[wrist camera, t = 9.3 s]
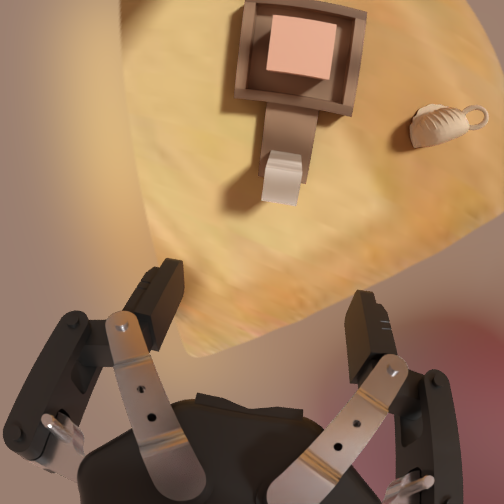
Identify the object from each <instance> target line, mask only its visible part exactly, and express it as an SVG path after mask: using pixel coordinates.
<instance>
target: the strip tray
mask: <svg viewBox="0 0 504 504" xmlns="http://www.w3.org/2000/svg"><path fill="white" fill-rule="evenodd" d="M273 15H280V16H289V17H296V18H303V19H309V20H315V21H321V22H326V23H331V24H336V25H337V27H336V35H335V43H334V50H333V57H332V64H331V71H330V78H329V80H321V79H315V78H310V77H304V76H298V75H291V74H284V73H277V72H270V71H268V70H266V68H267V60H268V52H269V44H270V36H271V28H272V20H273ZM366 18H367V12H365V11H361V10H357V9H354V8H349V7H345V6H341V5H336V4H332V3H327V2H321V1H316V0H245V4H244V12H243V20H242V28H241V36H240V45H239V54H238V63H237V72H236V82H235V91H234V98H237V99H248V100H257V101H266V102H267V106H266V114H265V123H264V131H263V139H262V147H261V156H260V164H259V172H258V176H260V177H264V184H263V191H262V199H261V201H268V202H274V203H280V204H286V205H292V206H296V205H297V200H298V194H299V189H300V184H301V183H303V184H306V181H307V175H308V170H309V165H310V159H311V154H312V148H313V142H314V137H315V131H316V125H317V119H318V113H319V110H322V111H327V112H332V113H336V114H341V115H345V116H350V117H352V112H353V107H354V101H355V95H356V89H357V83H358V77H359V71H360V64H361V57H362V50H363V43H364V35H365V27H366Z"/></svg>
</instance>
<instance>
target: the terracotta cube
mask: <svg viewBox="0 0 504 504" xmlns="http://www.w3.org/2000/svg"><path fill="white" fill-rule="evenodd" d="M336 27H337V25H336V24H331V23H326V22H321V21H315V20H309V19H303V18H296V17H289V16H280V15H273V20H272V28H271V36H270V44H269V52H268V60H267V68H266V70H268V71H270V72H277V73H284V74H291V75H298V76H304V77H310V78H315V79H321V80H329V78H330V71H331V64H332V57H333V50H334V43H335V35H336Z"/></svg>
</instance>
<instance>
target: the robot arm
mask: <svg viewBox="0 0 504 504" xmlns="http://www.w3.org/2000/svg"><path fill="white" fill-rule="evenodd" d="M183 293H184V271H183V261H182V260H176V259H170V258H166V259H165V260H164V262H163V263H162V265H161V267H160V268H159V267H153V268H152V269H150V270H149V271H148V272H146V273H145V275H144V276H143V278H142V279H141V282H140V283H139V284H138V286H137V288H136V289H135V291H134V292H133V294H132V296H131V297H130V299H129V300H128V302H127V303H126V305H125V307H124V308H123V310H122V311H118V312H115V313H113V314H112V315H110V316H109V317H108V319H107V320H88V317H87V315H86V314H85V313H84V312H81V311H71V312H68V313H66V314H65V315H64V316H63V317H62V318H61V320H60V321H59V323H58V324H57V326H56V328H55V329H54V331H53V333H52V334H51V336H50V338H49V339H48V341H47V343H46V344H45V346H44V348H43V350H42V352H41V353H40V355H39V357H38V358H37V360H36V362H35V364H34V366H33V367H32V369H31V371H30V373H29V375H28V377H27V379H26V381H25V383H24V385H23V387H22V389H21V391H20V393H19V395H18V397H17V399H16V401H15V403H14V405H13V408H12V410H11V412H10V414H9V416H8V419H7V421H6V423H5V426H4V429H3V438H4V441H5V444H6V445H7V447H8V448H9V449H11V450H12V451H14V452H15V453H17V454H18V455H20V456H21V457H22V458H23V459H25V460H27V461H28V462H30V463H32V464H34V465H35V466H37V467H39V468H42V469H44V470H46V471H48V472H50V473H57V474H59V475H61V476H63V477H65V478H67V479H70V480H72V481H74V482H76V483H77V484H78V489H79V493H80V501H81V504H463V477H462V462H461V451H460V443H459V434H458V427H457V421H456V414H455V409H454V403H453V398H452V393H451V389H450V383H449V380H448V378H447V376H446V375H445V374H444V373H442V372H441V371H439V370H435V369H434V370H433V369H432V370H429V371H428V372H427V373H426V374H425V375H423V374H420V373H417V372H414V371H411V370H409V369H408V366H407V364H406V362H405V361H404V360H403V359H402V358H401V357H399V356H398V355H397V350H396V346H395V342H394V338H393V334H392V330H391V325H390V323H389V318H388V314H387V312H386V310H385V309H384V307H383V306H382V305H381V304H376V300H375V296H374V293H373V292H370V291H363V290H357V291H356V292H355V294H354V297H353V299H352V301H351V304H350V306H349V308H348V311H347V313H346V317H345V323H344V324H345V335H346V344H347V355H348V364H349V365H348V366H349V379H350V383H353V384H358V390H357V392H356V393H355V394H354V395H353V397H352V398H351V399H350V400H349V402H348V403H347V404H346V405H345V406H344V408H343V409H342V410H341V411H340V413H339V414H338V415H337V416H336V417H335V418H334V419H333V421H332V422H331V423H330V424H329V425H328V426H327V427H326V429H325V430H324V429H323V428H322V427H321V426H320V425H318V424H317V423H315V422H314V421H312V420H310V419H308V418H306V417H303V409H292V408H284V407H283V408H282V407H270V408H258V409H248V408H245V407H243V406H240V405H238V404H235V403H233V402H231V401H229V400H226V399H224V398H220V397H215V396H210V395H206V394H201V393H197V395H196V399H189V400H182V401H178V402H175V403H172V404H170V402H169V400H168V397H167V395H166V393H165V390H164V388H163V385H162V383H161V381H160V378H159V376H158V373H157V371H156V368H155V365H154V363H153V360H152V358H151V355H150V354H149V353H150V351H151V350H154V351H159V350H160V347H161V345H162V343H163V340H164V338H165V336H166V333H167V331H168V329H169V327H170V324H171V322H172V320H173V318H174V315H175V313H176V311H177V309H178V306H179V304H180V302H181V300H182V297H183ZM103 367H113V368H114V372H115V376H116V379H117V383H118V386H119V390H120V393H121V397H122V400H123V402H124V406H125V409H126V412H127V415H128V418H129V421H130V424H131V427H132V428H131V429H130V430H128V431H126V432H125V433H123V434H121V435H120V436H118V437H116V438H115V439H113V440H111V441H109V442H108V443H106V444H104V445H102V446H101V447H99V448H97V449H95V450H94V451H92V452H90V453H89V454H88V455H86V456H85V454H84V451H83V445H84V435H83V433H82V431H81V430H80V428H79V425H80V422H81V419H82V416H83V414H84V411H85V409H86V406H87V404H88V401H89V398H90V396H91V394H92V391H93V389H94V386H95V384H96V382H97V380H98V377H99V375H100V373H101V370H102V368H103ZM387 413H391V414H394V419H395V443H396V480H394V481H393V482H391V484H390V485H389V486H388V488H387V491H386V495H385V498H384V500H383V501H382V503H381V501H380V499H379V498H378V497H377V495H376V494H375V493H374V492H373V491H372V489H371V488H370V487H369V486H368V485H367V483H366V482H365V481H364V479H363V478H362V477H361V476H360V474H359V473H358V472H357V471H356V469H355V468H354V467H353V466H352V463H353V461H354V460H355V459H356V458H357V456H358V455H359V453H360V452H361V451H362V450H363V448H364V447H365V446H366V444H367V443H368V442H369V440H370V439H371V437H372V436H373V434H374V433H375V432H376V430H377V429H378V427H379V426H380V424H381V423H382V421H383V420H384V418H385V417H386V415H387Z"/></svg>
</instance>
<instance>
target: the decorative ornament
mask: <svg viewBox="0 0 504 504" xmlns="http://www.w3.org/2000/svg"><path fill="white" fill-rule="evenodd" d="M472 110H480V111H482V112H483V113H484V119H483V121H482V122H481V123H479V124H477V125H469V122H468V120H467V118H466V116H465V115H466V114H467V113H468V112H470V111H472ZM488 119H489V115H488V112H487V110H486V109H485V108H484V107H482V106H480V105H471V106H468V107H466V108H465V109H464V110H463V111H460V110H459V109H456V108H451V107H446V106H443V105H441V104H440V105H435V104H429V105H427V106H425V107H422V108H420V109H419V110H418V112H417V115H416V116H415V117H413V122H412V124H411V125H410V138H411V141H412V144H413V147H414V148H418V147H431V146H435V145H439V144H442V143H445V142H447V141H450V140H453V139H455V138H458V137H460V136H462V135H464V134H465V133H467V132H468V130H478V129H481V128H482V127H484V126H485V125H486V124H487V122H488Z"/></svg>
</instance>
